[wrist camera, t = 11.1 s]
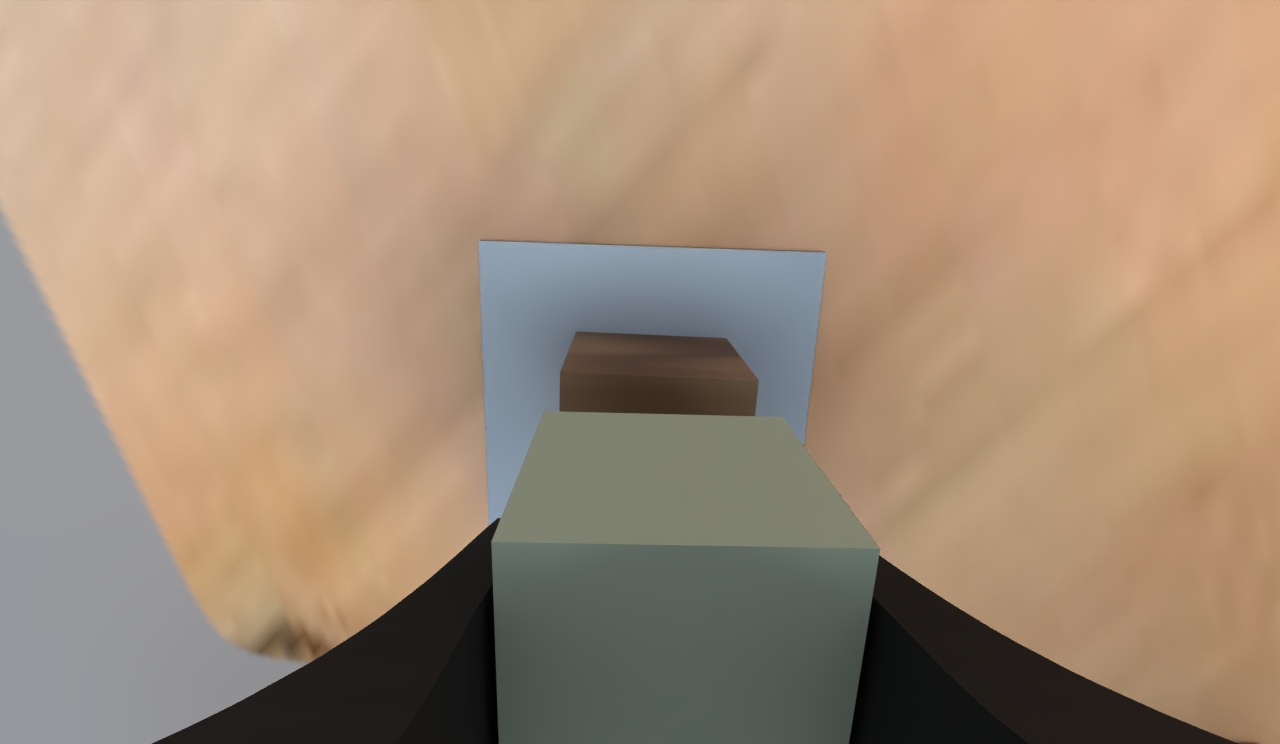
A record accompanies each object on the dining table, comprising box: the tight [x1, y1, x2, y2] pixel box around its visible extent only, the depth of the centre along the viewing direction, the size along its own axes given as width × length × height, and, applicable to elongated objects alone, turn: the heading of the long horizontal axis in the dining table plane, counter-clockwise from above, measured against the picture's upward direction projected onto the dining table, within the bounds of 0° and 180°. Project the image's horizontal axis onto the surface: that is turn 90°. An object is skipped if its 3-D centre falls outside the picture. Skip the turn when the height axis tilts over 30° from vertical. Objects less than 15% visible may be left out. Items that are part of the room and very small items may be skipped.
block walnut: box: [559, 332, 759, 416], centre depth 16 cm, size 4×4×4 cm
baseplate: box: [478, 240, 827, 525], centre depth 18 cm, size 10×10×1 cm
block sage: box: [491, 411, 880, 744], centre depth 10 cm, size 4×4×4 cm
